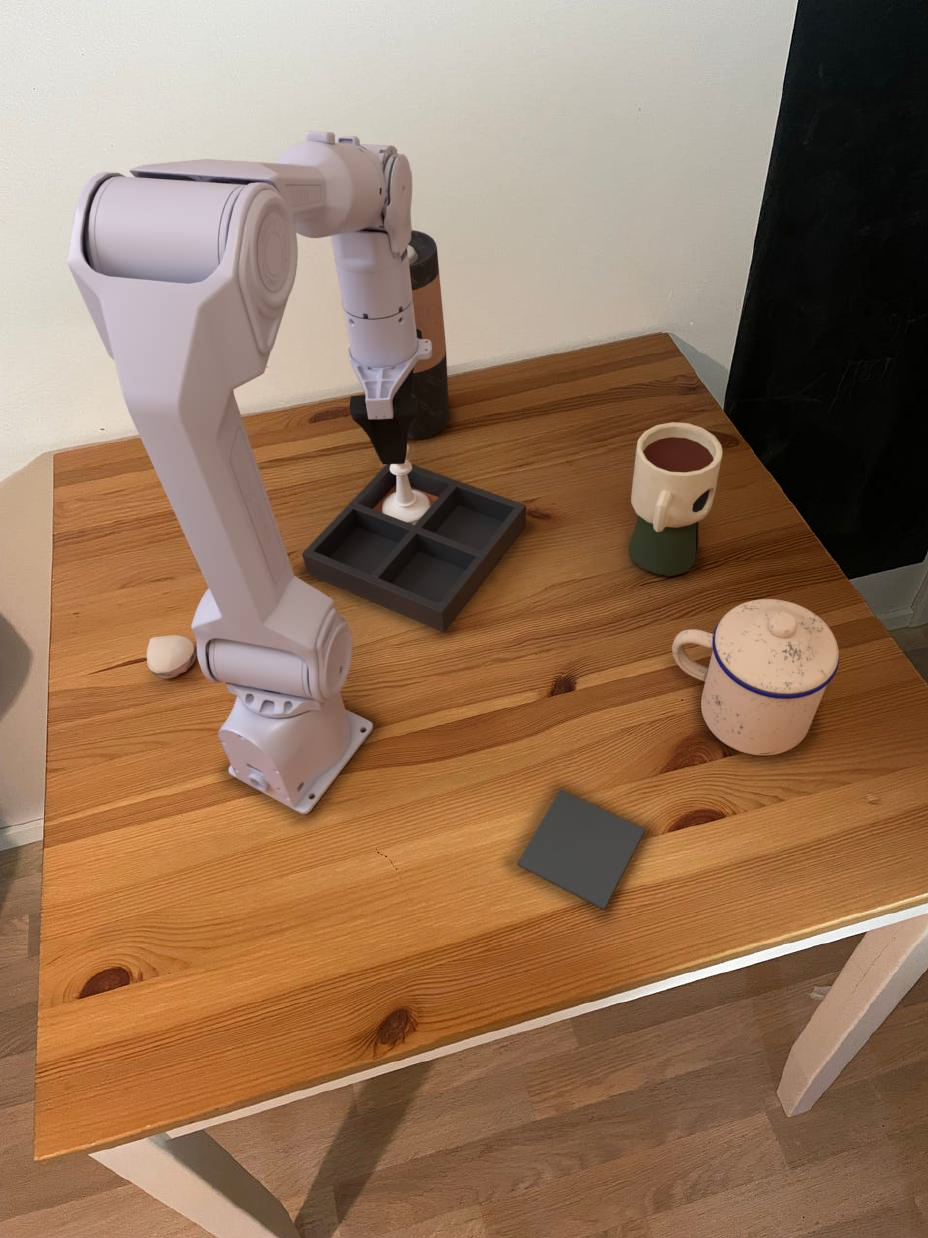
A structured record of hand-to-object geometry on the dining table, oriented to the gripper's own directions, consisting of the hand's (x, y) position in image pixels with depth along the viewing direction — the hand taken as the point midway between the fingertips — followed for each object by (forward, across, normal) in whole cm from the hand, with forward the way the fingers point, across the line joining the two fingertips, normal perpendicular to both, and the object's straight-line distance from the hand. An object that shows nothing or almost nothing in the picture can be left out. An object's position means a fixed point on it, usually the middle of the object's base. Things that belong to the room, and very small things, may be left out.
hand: (396, 434), depth 85 cm
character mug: (+10, -7, -24) cm, 27 cm away
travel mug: (+10, +15, 0) cm, 18 cm away
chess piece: (+10, 0, 0) cm, 10 cm away
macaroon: (+10, -18, +20) cm, 29 cm away
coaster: (+10, -36, -15) cm, 41 cm away
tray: (+10, -5, -1) cm, 11 cm away
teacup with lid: (+10, -24, -28) cm, 39 cm away
